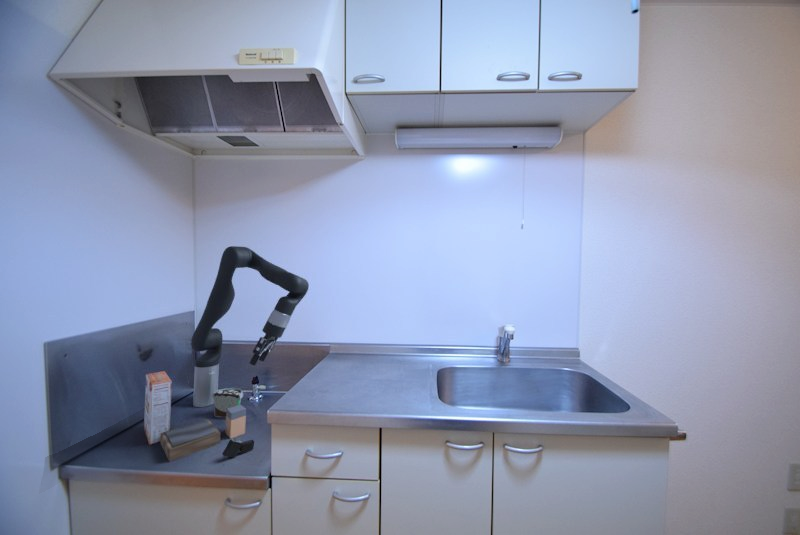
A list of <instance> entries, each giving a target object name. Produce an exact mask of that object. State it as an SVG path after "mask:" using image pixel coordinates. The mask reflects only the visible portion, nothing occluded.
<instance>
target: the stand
mask: <svg viewBox="0 0 800 535" xmlns="http://www.w3.org/2000/svg"><path fill="white" fill-rule="evenodd" d="M220 443H221V431H219V429H218V428H217V427H216V426H215V425H214V424H213V422H211V421H210V419H209V418H205V419H202V420H200V421H199V420H198V421H196V422H193V423H189V424H186V425H183V426H180V427H176V428H173V429H170V430H169V431H166V432H163V433H161V440H160V442H159V444H160V446H161V447H162V450H163V451H164V454H165V455H166V457H167V459H168V461H169V462H173V461H175V460H179V459H182V458H184V457H186V456H189V455H192V454H194V453H197V452H200V451H202V450H205V449H208V448H210V447H213V446H216V445H219V444H220Z"/></svg>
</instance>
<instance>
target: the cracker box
mask: <svg viewBox="0 0 800 535" xmlns="http://www.w3.org/2000/svg"><path fill="white" fill-rule="evenodd" d="M172 384H173V381H172V380H171V378H170V377H169V375H168V374H167V372H166V371H164V370H162V371H158V372H157V371H156V372H152V373H147V374H145V393H144V394H145V395H144V415H143V417H144V419H143V430H144V433H145V436H146V439H147V442H148V446H151V445H153V444H154V445H155V444H158V443H160V440H161V433H163V432H166V431H169V430H171V429H170V428H171V407H172V406H171V405H172V387H173V386H172Z"/></svg>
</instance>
